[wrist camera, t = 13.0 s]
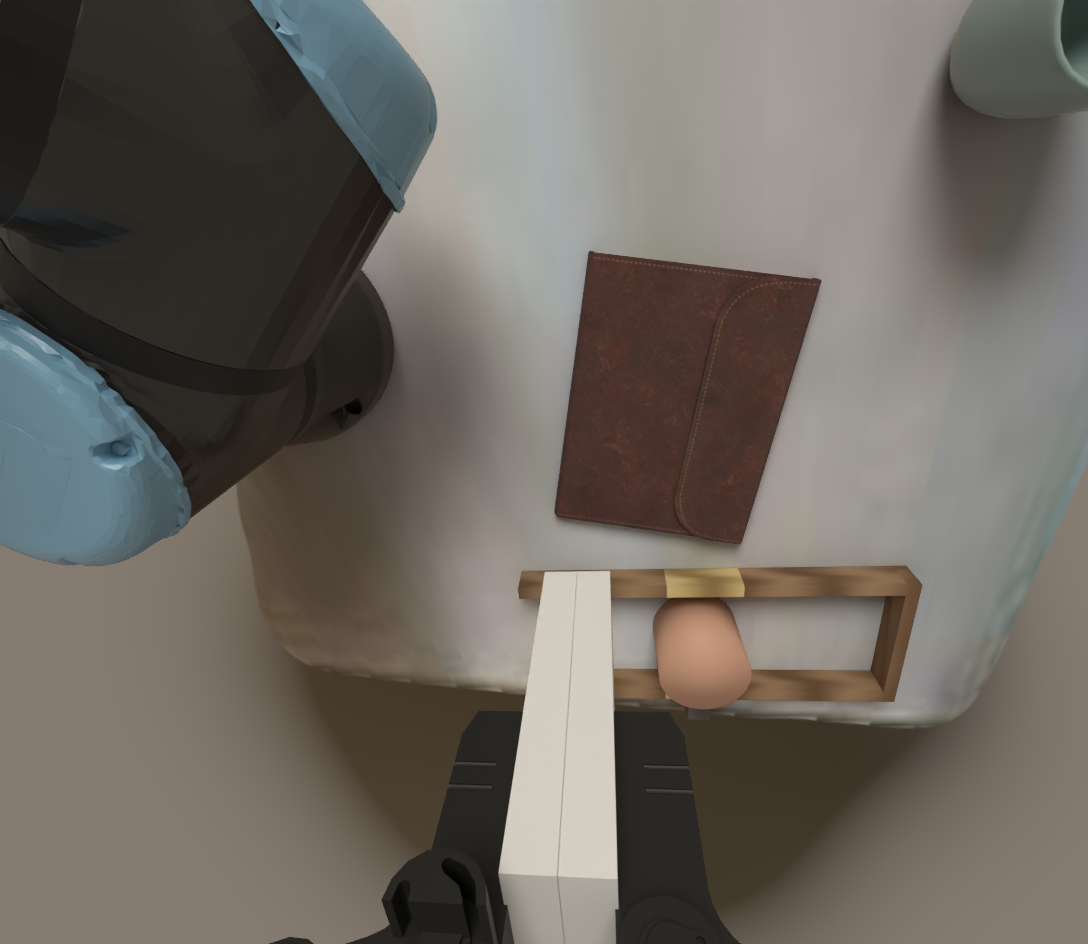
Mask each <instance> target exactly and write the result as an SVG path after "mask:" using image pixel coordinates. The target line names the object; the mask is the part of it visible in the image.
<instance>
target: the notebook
mask: <svg viewBox="0 0 1088 944" xmlns="http://www.w3.org/2000/svg"><path fill="white" fill-rule="evenodd" d="M820 284H821V280H820V279H816V278H812V279H808V278H800V277H792V276H784V275H776V274H767V273H759V272H751V271H743V270H734V269H726V268H718V267H710V266H702V265H693V264H685V263H677V262H669V261H661V260H652V259H644V258H636V257H628V256H619V255H611V254H603V253H595V252H594V251H589V254H588V262H587V269H586V277H585V284H584V292H583V299H582V307H581V315H580V322H579V330H578V337H577V345H576V352H575V360H574V368H573V375H572V383H571V390H570V398H569V405H568V413H567V421H566V428H565V436H564V443H563V451H562V458H561V466H560V474H559V481H558V489H557V496H556V504H555V511H554V512H555V514H556V516H557V517H562V518H569V519H576V520H583V521H590V522H597V523H604V524H611V525H619V526H626V527H633V528H640V529H647V530H654V531H661V532H668V533H675V534H682V535H689V536H696V537H700V538H703V539H707V540H712V541H720V542H727V543H734V544H741V542H742V540H743V536H744V533H745V530H746V526H747V523H748V520H749V517H750V513H751V510H752V507H753V503H754V500H755V497H756V494H757V490H758V487H759V484H760V481H761V477H762V474H763V471H764V467H765V464H766V461H767V458H768V454H769V451H770V448H771V444H772V441H773V438H774V435H775V431H776V428H777V425H778V421H779V418H780V415H781V412H782V408H783V405H784V402H785V399H786V395H787V392H788V389H789V385H790V382H791V379H792V376H793V372H794V369H795V366H796V362H797V359H798V356H799V353H800V349H801V346H802V343H803V339H804V336H805V333H806V330H807V326H808V323H809V320H810V317H811V313H812V310H813V307H814V303H815V300H816V297H817V294H818V290H819V287H820Z"/></svg>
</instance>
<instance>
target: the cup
mask: <svg viewBox="0 0 1088 944" xmlns="http://www.w3.org/2000/svg"><path fill="white" fill-rule="evenodd" d="M949 69H950V80H951V84H952V87H953V90H954V92H955V93H956V95H957V96H958V98H959V100H961V101H962V102H963V103H964V104H965V105H966V106H968V107H969V108H971V109H973V110H975V111H977V112H979V113H981V114H984V115H988V116H993V117H998V118H1004V119H1034V118H1044V117H1051V116H1057V115H1063V114H1070V113H1076V112H1081V111H1087V110H1088V0H973V1H972V2H971V4H970V6H969V7H968V9H967V11H966V12H965V14H964V16H963V18H962V20H961V22H960V24H959V27H958V29H957V32H956V34H955V38H954V41H953V45H952V49H951V55H950V63H949Z"/></svg>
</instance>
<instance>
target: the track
mask: <svg viewBox="0 0 1088 944" xmlns="http://www.w3.org/2000/svg"><path fill="white" fill-rule="evenodd" d="M575 571H610V585H611V598H680V597H808V596H887V597H886V601H885V606H884V611H883V616H882V620H881V625H880V630H879V634H878V639H877V644H876V649H875V653H874V658H873V663H872V668H871V671H833V670H751V681H750V684H749V686H748V688H747V690H746V691H745V692H744V694H742V695H741V696H740V697H739V698H738V699H737V700H800V701H879V702H894V700H895V696H896V692H897V688H898V684H899V680H900V676H901V671H902V667H903V663H904V659H905V655H906V651H907V647H908V642H909V638H910V634H911V630H912V626H913V622H914V618H915V613H916V609H917V605H918V601H919V597H920V593H921V589H922V584H921V583H920V581H919V580H918V579H917V578H916V577H915V576H914V574H913V573H912V572H911V571H910V570H909V569H908V567H907V566H868V567H794V568H720V569H646V570H572V571H522V573H521V578H520V582H519V587H518V592H519V599H541V594H542V587H543V581H544V574H545V572H575ZM614 698H642V699H671V698H670V697H669V696H668V695H667V694H666V693H665V692H664V690H663V689H662V687H661V684H660V680H659V672H658V669H614ZM686 712H687V717H688V720H711V709H695V708H690V707H686Z"/></svg>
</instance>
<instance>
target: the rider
mask: <svg viewBox="0 0 1088 944" xmlns="http://www.w3.org/2000/svg"><path fill="white" fill-rule="evenodd" d="M653 631H654V639H655V647H656V655H657V664H658V672H659V680H660V684H661V687H662V689H663V690H664V692H665V693H666V694H667V695H668V696H669V697H670V698H671V699H672V700H674V701H675V702H677V703H679V704H681V705H683V706H686V707H690V708H695V709H713V708H718V707H722V706H725V705H728V704H730V703H732V702H733V701H735V700H737V699H738V698H739V697H740V696H741V695H742V694H744V692H745V691H746V690H747V688H748V686H749V684H750V681H751V668H750V665H749V662H748V659H747V655H746V652H745V649H744V646H743V643H742V640H741V637H740V634H739V631H738V628H737V625H736V622H735V618H734V616H733V613H732V611H731V609H730V608H729V607H728V606H727V605H726V604H725V603H724V602H723V601H722V600H720V599H718V598H716V597H680V598H672V599H670V600H668V601H667V602H665V603H664V604H663V605H662V606H661V607H660V608H659V610H658V611H657V613H656V615H655V617H654V621H653Z"/></svg>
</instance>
